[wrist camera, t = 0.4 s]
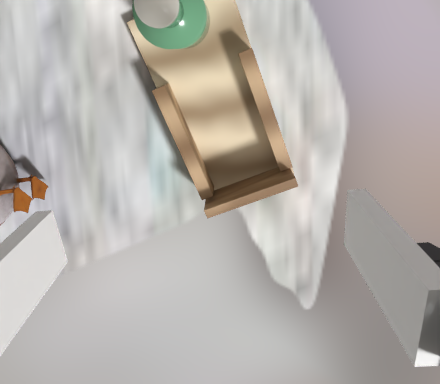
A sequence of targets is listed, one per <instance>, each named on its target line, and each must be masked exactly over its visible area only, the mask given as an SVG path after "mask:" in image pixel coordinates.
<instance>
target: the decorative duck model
mask: <svg viewBox="0 0 440 384" xmlns="http://www.w3.org/2000/svg"><path fill="white" fill-rule="evenodd" d="M26 181H31V190H32V198H33V199H34V198H40V199H43V200H44V199H45V192H46V189H47V187H48V186H47V185H46V184H45V183H44V182H42V181H41V180H39V179H38V178H37V177H36V176H33V177H32V174H31V176H30V177H28V178H18V173H17V170H16V167H15V164H14V162H13V160H12V159H11V157H10V156H9V155H8V153H7V152H6V151H5V150H4V148H3V147H2V146H1V145H0V225H1V224H2V223H4V222H5V220H6V219H7V218H8V217H9V216H10V214H11V213H12V211H13V210H14V212H15V211H24V212H27V213H28V210H29V205H30V202H31V200H33V199H32V198H31V197H30V196H28V195H27V194H26V193H25V192H23V191H22V190H21V189H20V188H19V183H20V182H26Z"/></svg>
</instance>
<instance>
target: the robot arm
mask: <svg viewBox="0 0 440 384" xmlns="http://www.w3.org/2000/svg"><path fill="white" fill-rule="evenodd" d="M344 245H345V247H346V249H347V251H348V252H349V254H350V256H351V257H352V259H353V261H354V263H355V265H356V266H357V268H358V270H359V271H360V273H361V275H362V277H363V278H364V280H365V282H366V284H367V285H368V287H369V289H370V291H371V292H372V294H373V295H374V298H375V299H376V301H377V303H378V304H379V306H380V308H381V310H382V311H383V313H384V315H385V317H386V318H387V320H388V322H389V323H390V325H391V327H392V329H393V330H394V332H395V334H396V336H397V337H398V339H399V341H400V343H401V344H402V346H403V348H404V350H405V351H406V353H407V355H408V356H409V358H410V360H411V362H412V363H413V365H414V367H418V366H439V365H440V248H438V247H436V246H434V245H432V244H431V243H428V242H427V243H416V242H415V241H414V240H413V239H412V238H411V237H410V236H409V235H408V234H407V233H406V231H405V230H404V229H403V228H402V227H401V226H400V225H399V224H398V223H397V222H396V221H395V220H394V219H393V218H392V217H391V215H389V213H388V212H387V211H386V210H385V209H384V208H383V207H382V206H381V205H380V204H379V203H378V202H377V201H376V199H374V197H373V196H372V195H371V194H370V193H369V192H368V191H367V190H366V189H357V190H348V191H347V207H346V223H345V237H344ZM67 262H68V260H67V257H66V253H65V250H64V247H63V243H62V240H61V237H60V234H59V230H58V227H57V224H56V220H55V217H54V214H53V210H52V211H38V212H35V213H34V214H33V215H32V216H31V217H29V218H28V219H27V220H26V221H25V222H24V223H23V224H22V225H21V226H19V227H18V228H17V229H16V230H15V231H14V232H13V233H12V234H11V235H9V236H8V237H7V238H6V239H5V240H4V241H3V242H2V243H1V244H0V356H1V355H2V353H3V352H4V350H5V349H6V348H7V346H8V345H9V343H10V342H11V341H12V339H13V338H14V336H15V335H16V334H17V332H18V331H19V329H20V328H21V327H22V325H23V324H24V322H25V321H26V320H27V318H28V317H29V315H30V314H31V313H32V311H33V310H34V309H35V307H36V306H37V304H38V303H39V302H40V300H41V299H42V297H43V296H44V294H45V293H46V292H47V290H48V289H49V288H50V286H51V285H52V283H53V282H54V281H55V279H56V278H57V276H58V275H59V274H60V272H61V271H62V269H63V268H64V267H65V265H66V264H67Z"/></svg>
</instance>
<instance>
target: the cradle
mask: <svg viewBox="0 0 440 384" xmlns="http://www.w3.org/2000/svg"><path fill="white" fill-rule="evenodd" d="M204 2H205V4H206V6H207V8H208V11H209V15H210V26H209V30H208V33H207V35H206V37H205V38H204V39H203V41H202V42H201V43H199V44H198V45H197V46H195V47H192V48H188V49H163V48H160V47H157V46H155V45H153V44H151V43H150V42H149V41H147V40H146V39H145V38H144V37H143V35H142V34H141V33H140V31H139V30H138V28H137V26H136V23H135V21H134V19H133V20H131V21H129V22H127V24H128V26H129V28H130V30H131V33H132V35H133V37H134V39H135V42H136V44H137V46H138V48H139V50H140V53H141V55H142V57H143V59H144V61H145V64H146V66H147V68H148V70H149V72H150V75H151V77H152V79H153V81H154V84H155V86H156V89H154V90H153V91H152V92H153V95H154V97H155V99H156V101H157V103H158V105H159V108H160V110H161V112H162V114H163V116H164V118H165V121H166V123H167V125H168V127H169V129H170V132H171V134H172V136H173V138H174V140H175V142H176V145H177V147H178V149H179V151H180V153H181V156H182V158H183V160H184V162H185V164H186V166H187V169H188V171H189V173H190V175H191V177H192V180H193V182H194V184H195V186H196V188H197V190H198V193H199V195H200V197H201V199H202V200H203V199H206V201H205V208H204V212H205V214H206V216H207V218H210V217H213V216H215V215H218V214H221V213H224V212H227V211H230V210H233V209H235V208H238V207H241V206H244V205H247V204H250V203H252V202H255V201H258V200H261V199H264V198H267V197H269V196H272V195H275V194H278V193H281V192H284V191H286V190H289V189H292V188H295V187H298V184H297V181H296V178H295V176H294V172H293V169H292V164H291V161H290V158H289V155H288V152H287V149H286V146H285V143H284V140H283V138H282V135H281V132H280V129H279V126H278V123H277V120H276V117H275V114H274V111H273V108H272V105H271V102H270V99H269V96H268V94H267V91H266V88H265V85H264V82H263V79H262V76H261V73H260V70H259V67H258V64H257V61H256V58H255V55H254V52H253V50H252V48H251V46H250V43H249V40H248V37H247V34H246V31H245V28H244V25H243V22H242V19H241V16H240V14H239V11H238V8H237V5H236V2H235V0H204Z"/></svg>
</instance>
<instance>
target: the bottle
mask: <svg viewBox="0 0 440 384" xmlns="http://www.w3.org/2000/svg"><path fill="white" fill-rule="evenodd" d="M132 8H133V17H134V21H135V23H136V26H137V28H138V30H139V31H140V33H141V34H142V35H143V37H144V38H145V39H146V40H147V41H149V42H150V43H151V44H153V45H155V46H157V47H160V48H163V49H188V48H192V47H195V46H197V45H198V44H199V43H201V42H202V41H203V39H204V38H205V37H206V35H207V33H208V30H209V26H210V15H209V11H208V8H207V6H206V4H205V2H204V0H133V5H132Z"/></svg>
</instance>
